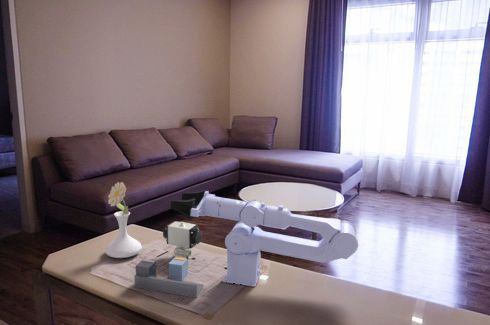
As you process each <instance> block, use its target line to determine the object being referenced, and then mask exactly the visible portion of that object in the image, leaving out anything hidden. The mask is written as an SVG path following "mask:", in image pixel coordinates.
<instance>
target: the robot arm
mask: <svg viewBox="0 0 490 325" xmlns="http://www.w3.org/2000/svg"><path fill="white" fill-rule="evenodd" d="M170 209H172V210H174V211H176V212H179V213H180V214H182V215H184V217H186V218H187V219H188V220H192V219H194V218H198V217H205V216H207V217H213V218H219V219H225V220H230V221H236V222H237V223H235V225H234V226H233V228H232V230H230V232H229V233H228V234H227V235H226V236H225V239H224V245H225V248H226V249H227V252H226V254H227V255H226V264H227V265H226V273H225V276H224V277H223V278H222V282H223V283H226V282H227V284H233V283H235V284H234V285H240V284H242V285H241V286H247V287H253V288H254V287H256V285H257V283H258V280H259V278H260V276H261V257H262V255H261V252H266V253H272V254H277V255H281V256H287V257H292V258H296V259H302V260H307V261H312V262H318V263H322V264H323V263H324V264H325V263H329V262H333V261H336V260H337V261H338V260H341V259H342V260H348V259H349V258H350V257H351V256H352V255H354V254H355V253H356V251H357V250H358V248H359V243H358V238H357V229H356V227H355V225H354V224H353V223H351V222H350V221H349V220H348V221H347V220H341V219H339V218H329V217H328V218H326V217H318V216H313V215H312V216H311V215H303V214H295V213H292V212H291V211H290V209H289V208H287V207H285V206H284V205H283V204H282V205H281V204H279V205H278V206H273V205H270V204H269V205H268V204H266V203H265V202H261V203H260V201H257V199H250V200H248V201H244V200H239V199H234V198H225V197H220V196H216V194H211V193H209V190H207V189H202V190H200V191H192V192H191V191H190V192H182V193H181V200H179V199H178V200H177V199H176V200H175V199H172V200H170ZM259 226H264V227H268V228H273V229H281V230H286V229H287V228H289V227H292V228H296V229H299V230H303V231H309V232H313V233H317V234H320V236H321V237H322V238H321V239H320V240H319V241H318V240H314V239H308V238H302V237H297V236H292V235H291V236H290V235H287V234H280V233H274V232H269V231H265V230H263V229H262V228H260V227H259Z"/></svg>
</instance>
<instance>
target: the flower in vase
mask: <svg viewBox="0 0 490 325" xmlns="http://www.w3.org/2000/svg"><path fill="white" fill-rule="evenodd" d="M126 191H127V187H126V185H125V184H124V182H123V181H121V182H119V181H118V182H116V183H115V184H114V185H113V186H111V190H110V192H109V194H108V200H107V201H108V202H107V203H108V204H109V205H110V207H115V206H116V208H118V209H119V210H121V211H116V212H114V213H113V215H114V216H113V217H115V218H116V220H117V223H118V228H119V230H118V232H119V233H118V236H117V237H116V238H115V239H113V240H112V241H111V242H110V243H109V244H108V245H107V246H106V248H105V251H104V252H105V254H106V255H107V256H108V257H109V258H110V257H111V258H115V259H123V258H129V257H133V256H135V255H137V254H139V253H140V252H141V250H142V248H143V246H142V244H141V242H140V241H139V240H138V239H135V238H133V237H132V236H130V235H129V234H128V230H127V224H128V219H129V216H130V214H131V212H130V211H129V206H128V205H126V202H125V200H124V198H125V196H126ZM121 202H123V204H121Z"/></svg>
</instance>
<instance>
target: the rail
mask: <svg viewBox="0 0 490 325" xmlns="http://www.w3.org/2000/svg"><path fill="white" fill-rule="evenodd" d="M203 287H204V288H205V286H204V284H203V283H197V282H190V281H189V282H188V281H185V280H183V281H177V280H171V279H169V278H164V277H157V260H152V259H146V258H145V259H142V260H141V261H140V262H138V263H137V264H136V265H135V274H134V288H135V289H141V290H148V291H154V292H160V293H165V294H172V295H176V296H177V295H178V296H183V297H184V296H185V297H191V298H198V297H199V296H200V294H201V292H202V291H203V290H202V289H204V288H203ZM201 290H202V291H201Z"/></svg>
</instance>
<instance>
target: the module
mask: <svg viewBox="0 0 490 325" xmlns="http://www.w3.org/2000/svg"><path fill="white" fill-rule="evenodd" d="M188 260H189V259H188V258H178V257H175V256H174V258H172V260H171V261H169V262H168V279H171V280H177V281H185V279H186V278H187V277H188V276H189V273H188V272H189V270H188V269H189V268H188V267H189V266H188V264H189V263H188ZM185 277H186V278H185ZM184 278H185V279H184Z"/></svg>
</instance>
